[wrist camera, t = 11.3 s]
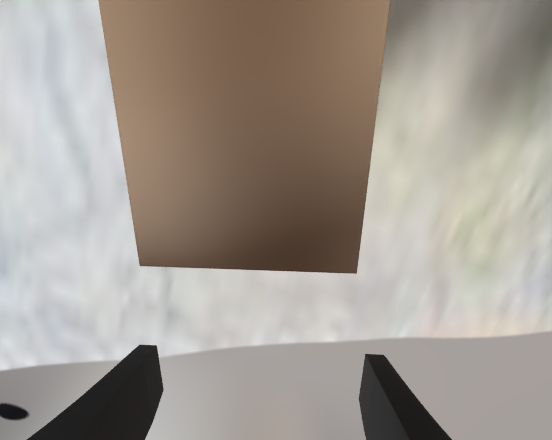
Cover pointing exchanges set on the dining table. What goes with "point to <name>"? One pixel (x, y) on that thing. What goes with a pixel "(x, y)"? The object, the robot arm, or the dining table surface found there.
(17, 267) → the dining table surface
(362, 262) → the dining table surface
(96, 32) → the dining table surface
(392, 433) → the robot arm
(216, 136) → the walnut block
